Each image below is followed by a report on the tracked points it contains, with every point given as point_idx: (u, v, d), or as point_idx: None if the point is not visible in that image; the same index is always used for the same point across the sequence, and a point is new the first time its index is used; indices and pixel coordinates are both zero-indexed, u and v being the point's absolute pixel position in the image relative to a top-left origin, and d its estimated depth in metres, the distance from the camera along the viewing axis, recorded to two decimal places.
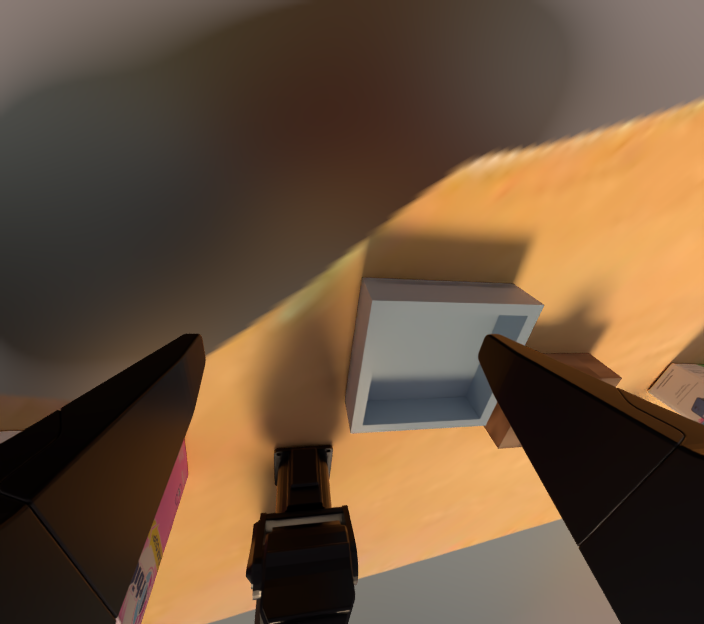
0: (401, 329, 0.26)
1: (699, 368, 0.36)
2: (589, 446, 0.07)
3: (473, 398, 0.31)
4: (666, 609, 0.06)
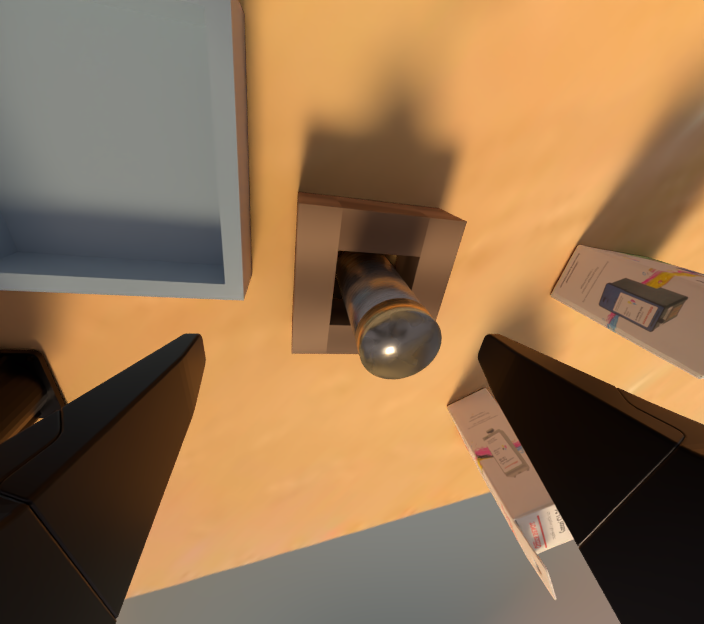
0: (19, 79, 0.14)
1: (617, 252, 0.25)
2: (588, 446, 0.07)
3: None
4: (666, 609, 0.06)
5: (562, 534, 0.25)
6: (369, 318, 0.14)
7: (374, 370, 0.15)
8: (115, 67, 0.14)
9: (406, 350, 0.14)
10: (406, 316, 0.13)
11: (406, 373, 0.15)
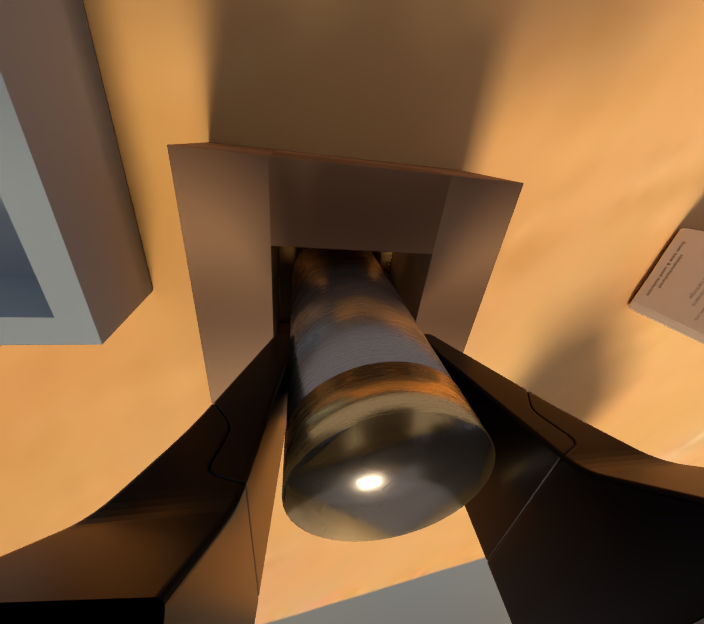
0: None
1: None
2: None
3: None
4: None
5: None
6: (305, 420, 0.05)
7: (330, 532, 0.06)
8: None
9: (406, 490, 0.06)
10: (402, 425, 0.05)
11: (408, 527, 0.07)
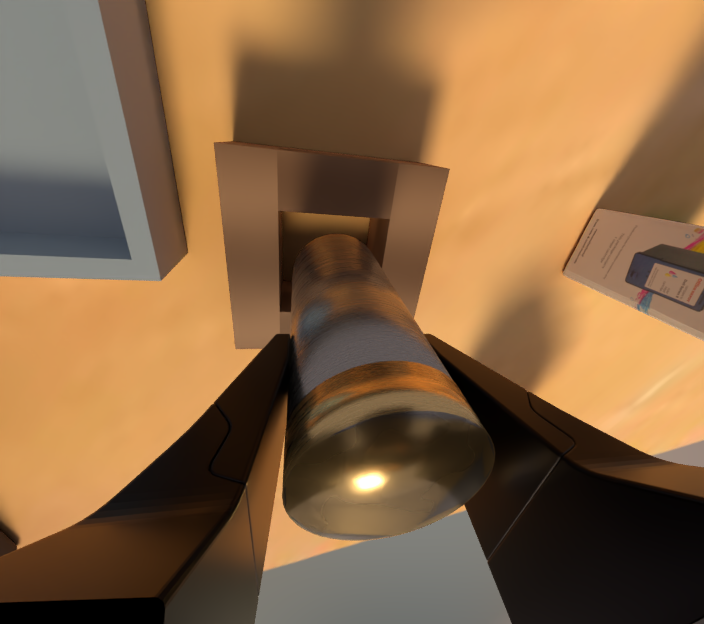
0: None
1: None
2: None
3: None
4: None
5: None
6: (305, 419, 0.05)
7: (331, 531, 0.06)
8: None
9: (405, 489, 0.06)
10: (402, 424, 0.05)
11: (408, 526, 0.07)
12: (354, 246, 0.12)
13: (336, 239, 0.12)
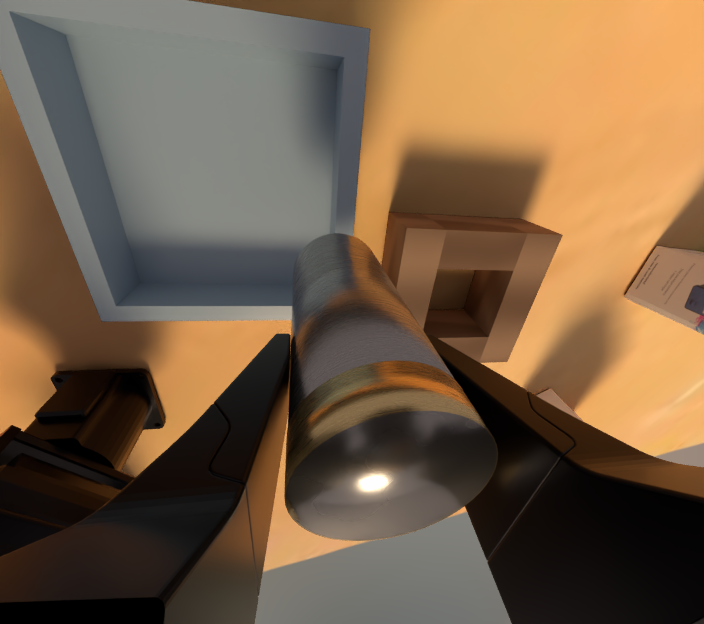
0: (157, 129, 0.15)
1: (698, 252, 0.24)
2: None
3: None
4: None
5: None
6: (308, 419, 0.05)
7: (333, 531, 0.06)
8: (240, 112, 0.15)
9: (408, 490, 0.06)
10: (405, 424, 0.05)
11: (411, 527, 0.07)
12: (355, 246, 0.12)
13: (337, 239, 0.12)
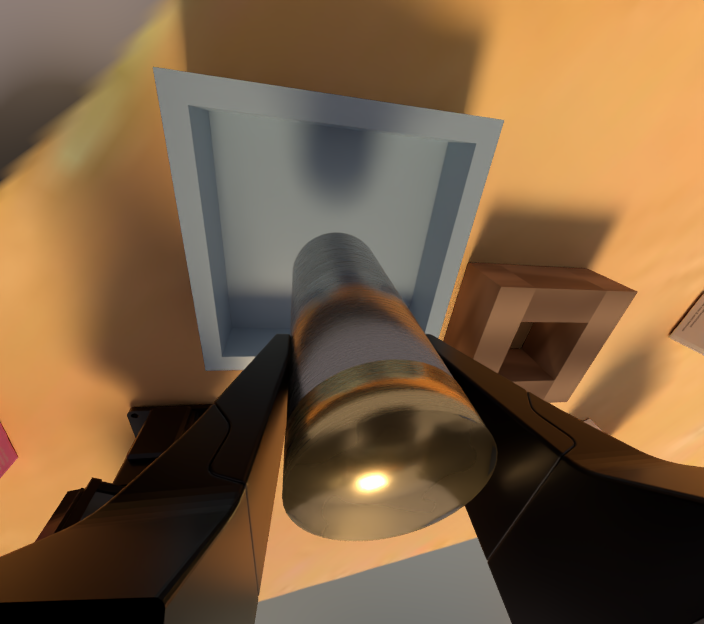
0: (275, 193, 0.16)
1: None
2: None
3: None
4: None
5: None
6: (305, 418, 0.05)
7: (331, 532, 0.06)
8: (354, 178, 0.16)
9: (407, 490, 0.06)
10: (404, 424, 0.05)
11: (410, 527, 0.06)
12: (354, 245, 0.12)
13: (336, 238, 0.12)
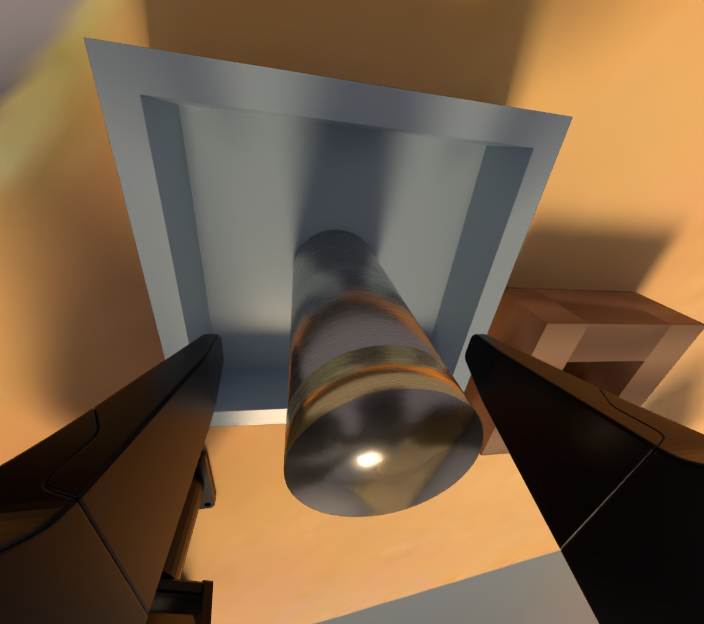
0: (267, 209, 0.13)
1: None
2: (570, 448, 0.07)
3: None
4: (644, 614, 0.06)
5: None
6: (306, 399, 0.06)
7: (329, 506, 0.06)
8: (367, 190, 0.13)
9: (399, 466, 0.06)
10: (396, 401, 0.05)
11: (403, 504, 0.07)
12: (353, 241, 0.12)
13: (335, 235, 0.13)
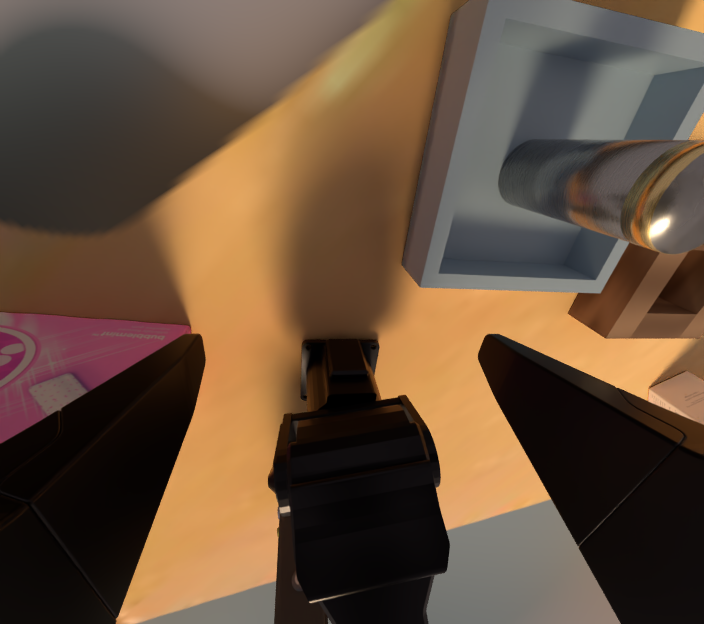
0: (499, 120, 0.18)
1: None
2: (589, 446, 0.07)
3: (580, 258, 0.22)
4: (666, 609, 0.06)
5: None
6: (669, 161, 0.11)
7: (657, 238, 0.12)
8: (568, 108, 0.18)
9: None
10: None
11: (688, 246, 0.12)
12: None
13: (546, 139, 0.18)
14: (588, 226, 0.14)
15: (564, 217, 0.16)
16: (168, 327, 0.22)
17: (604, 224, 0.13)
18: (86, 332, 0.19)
